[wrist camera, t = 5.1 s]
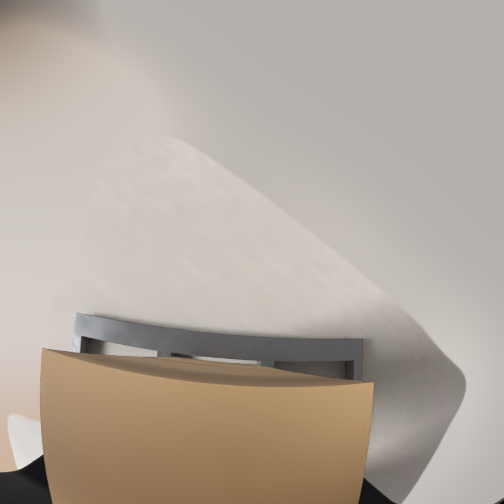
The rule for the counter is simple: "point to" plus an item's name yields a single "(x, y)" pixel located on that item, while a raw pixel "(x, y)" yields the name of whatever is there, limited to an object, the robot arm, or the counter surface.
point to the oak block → (199, 432)
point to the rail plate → (218, 344)
